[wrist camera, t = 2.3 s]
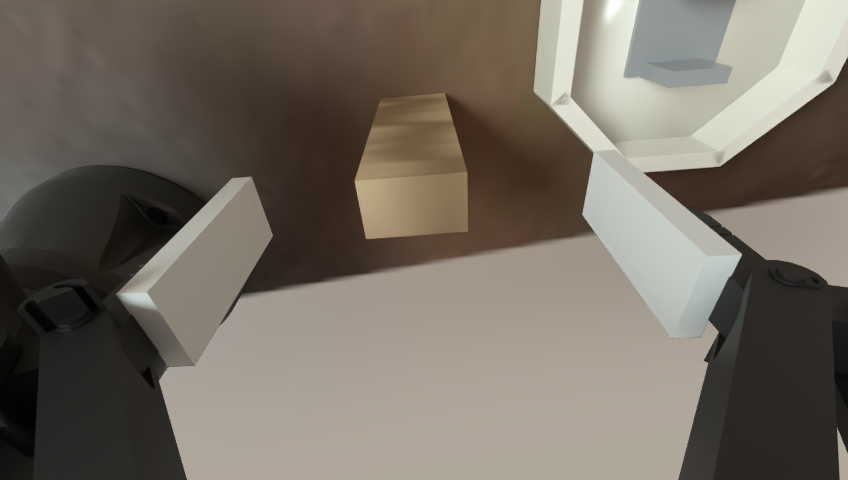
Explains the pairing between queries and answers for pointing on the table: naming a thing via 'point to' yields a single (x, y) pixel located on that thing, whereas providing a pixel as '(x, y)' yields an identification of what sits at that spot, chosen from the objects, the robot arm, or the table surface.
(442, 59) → the table surface
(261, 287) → the table surface
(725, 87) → the white octagonal tray
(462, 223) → the long cardboard-colored beam
